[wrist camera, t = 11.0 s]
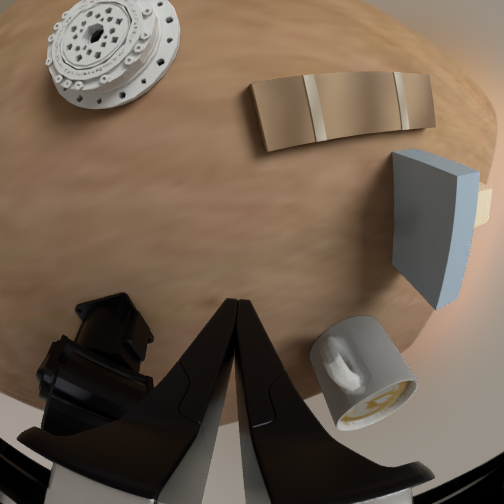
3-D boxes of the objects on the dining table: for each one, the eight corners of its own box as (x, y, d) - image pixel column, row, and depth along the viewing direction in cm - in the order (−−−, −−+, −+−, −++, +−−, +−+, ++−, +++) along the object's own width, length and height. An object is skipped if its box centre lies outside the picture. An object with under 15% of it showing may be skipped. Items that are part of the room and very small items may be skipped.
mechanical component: (137, 128, 17) (207, 16, 13) (118, 132, 13) (208, -8, 10) (41, 90, 13) (102, -15, 10) (9, 90, 9) (83, -35, 6)
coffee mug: (386, 341, 33) (420, 395, 24) (325, 378, 34) (349, 436, 26) (362, 281, 27) (413, 350, 18) (282, 331, 28) (308, 411, 19)
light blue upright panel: (391, 264, 26) (435, 310, 19) (391, 151, 20) (457, 176, 13) (461, 236, 26) (503, 269, 20) (468, 143, 20) (523, 163, 14)
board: (264, 149, 19) (268, 151, 18) (249, 85, 16) (252, 82, 15) (427, 125, 19) (436, 127, 18) (420, 75, 17) (429, 74, 16)
